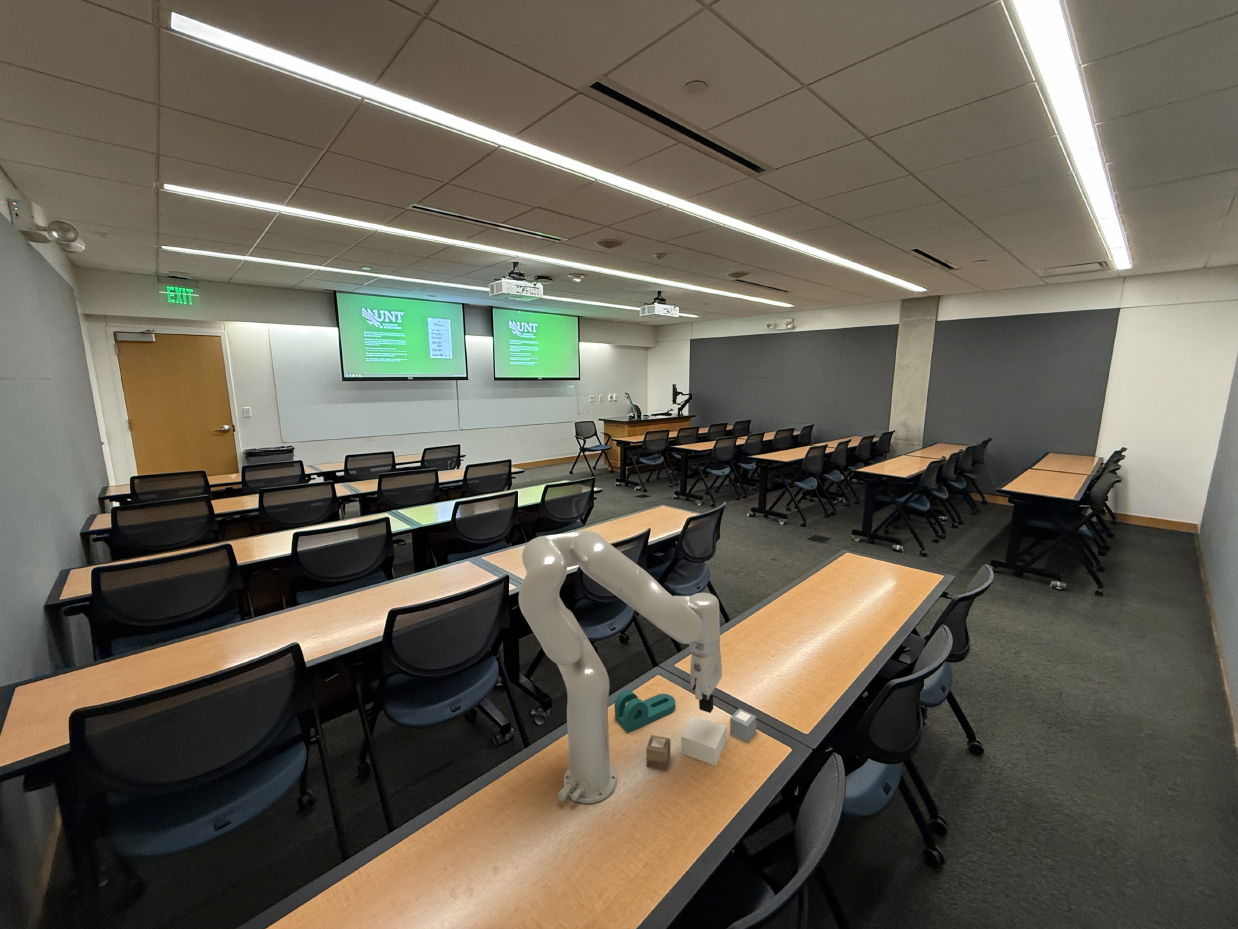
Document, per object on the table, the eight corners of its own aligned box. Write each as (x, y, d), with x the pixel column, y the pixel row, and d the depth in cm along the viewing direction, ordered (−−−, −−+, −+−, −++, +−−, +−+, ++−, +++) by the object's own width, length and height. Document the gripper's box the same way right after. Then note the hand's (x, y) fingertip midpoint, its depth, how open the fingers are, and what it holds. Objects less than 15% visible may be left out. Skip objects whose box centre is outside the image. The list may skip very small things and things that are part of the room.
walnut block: (666, 771, 116) (666, 751, 116) (646, 767, 118) (646, 747, 117) (670, 756, 121) (670, 737, 120) (651, 752, 123) (651, 733, 122)
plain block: (715, 766, 117) (715, 748, 117) (681, 754, 122) (681, 736, 121) (726, 743, 125) (726, 725, 124) (693, 732, 130) (693, 715, 129)
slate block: (747, 743, 125) (747, 725, 124) (730, 734, 128) (730, 716, 127) (756, 733, 128) (756, 715, 127) (739, 725, 132) (739, 707, 131)
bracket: (627, 734, 129) (627, 708, 128) (615, 720, 135) (614, 694, 134) (680, 710, 139) (679, 685, 137) (666, 697, 144) (665, 673, 143)
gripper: (707, 662, 111) (709, 733, 114) (729, 633, 123) (730, 697, 126) (678, 654, 115) (680, 722, 118) (702, 626, 127) (703, 689, 130)
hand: (706, 709), depth 122 cm, fingers closed
